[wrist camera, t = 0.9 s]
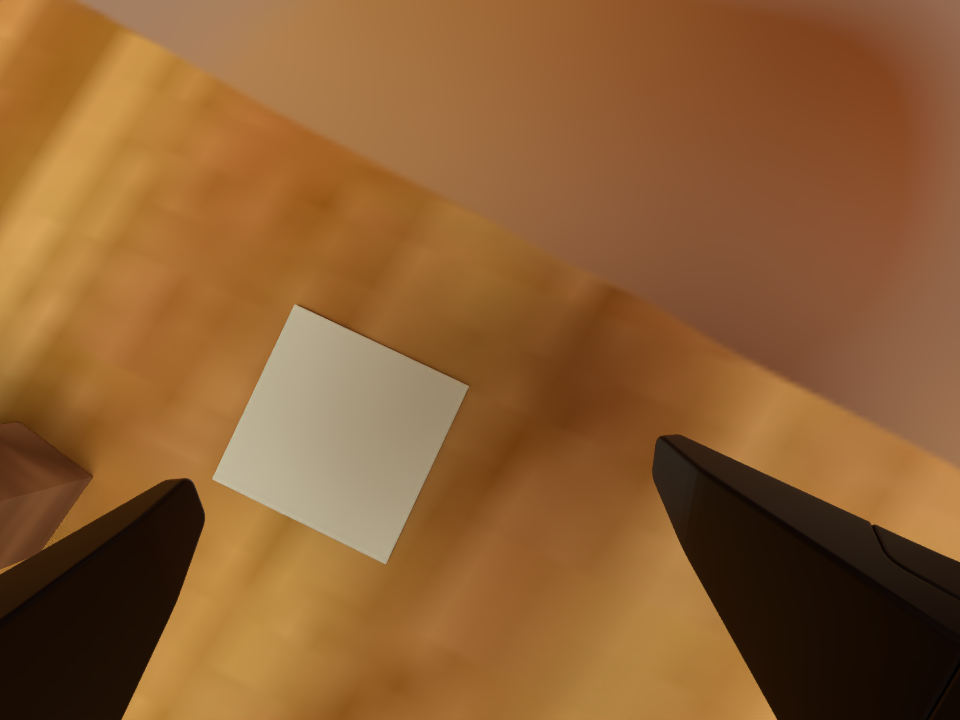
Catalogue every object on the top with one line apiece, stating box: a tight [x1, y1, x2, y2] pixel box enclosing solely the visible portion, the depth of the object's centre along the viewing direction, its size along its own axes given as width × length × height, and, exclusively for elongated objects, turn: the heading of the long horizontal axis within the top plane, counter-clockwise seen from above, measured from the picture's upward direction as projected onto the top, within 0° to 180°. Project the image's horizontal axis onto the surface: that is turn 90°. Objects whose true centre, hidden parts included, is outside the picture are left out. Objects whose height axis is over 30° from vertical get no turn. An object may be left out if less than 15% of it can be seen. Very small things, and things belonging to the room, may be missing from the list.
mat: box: [212, 305, 469, 564], centre depth 24 cm, size 10×10×1 cm
